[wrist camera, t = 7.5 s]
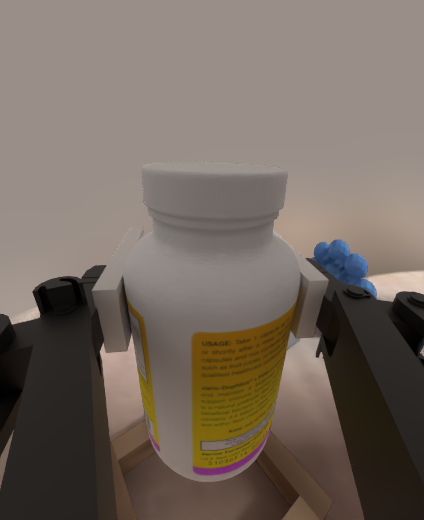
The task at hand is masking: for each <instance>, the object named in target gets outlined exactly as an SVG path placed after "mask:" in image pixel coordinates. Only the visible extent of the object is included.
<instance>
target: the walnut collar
mask: <svg viewBox="0 0 424 520" xmlns="http://www.w3.org/2000/svg"><path fill="white" fill-rule="evenodd" d="M110 448H111V458H112V468H113V478H114V488H115V498H116V508H117V518H118V520H137V517H136V514H135V511H134V508H133V505H132V502H131V499H130V496H129V493H128V490H127V487H126V483H125V480H124V477H123V475H124V474H125V473H127V472H128V471H129V470H131V469H132V468H133V467H135V466H136V465H138V464H139V463H140V462H142V461H143V460H144V459H146V458H147V457H148V456H150V455H151V454H152V453H154V452H155V449H154V447H153V445H152V442H151V440H150V437H149V433H148V429H147V424H146V420H144V421H143V422H141V423H140V424H138V425H137V426H135V427H134V428H132V429H130V430H129V431H127V432H126V433H124V434H123V435H121V436H120V437H118V438H116V439H115V440H113V441H112V442H110ZM256 461H257V462H258V464H259V465H260V466H261V468H262V469H263V470H264V472H265V473H266V474H267V476H268V477H269V478H270V479H271V481H272V482H273V483H274V485H275V486H276V487H277V489H278V490H279V491H280V493H281V494H282V495H283V497H284V498H285V499H286V500H287V502H288V503H289V504H290V506H291V508H290V510H289V511H288V512H287V513H286V515H285V516H284V517H283V519H282V520H324V519H325V517H326V515H327V513H328V511H329V510H330V508H331V506H332V504H333V501H332V499H331V498H330V497H329V496H328V495H327V494H326V493H325V492H324V490H323V489H322V488H321V487H320V486H319V485H318V484H317V483H316V481H315V480H314V479H313V478H312V477H311V476H310V475H309V474H308V473H307V471H306V470H305V469H304V468H303V467H302V466H301V465H300V464H299V462H298V461H297V460H296V459H295V458H294V457H293V456H292V455H291V453H290V452H289V451H288V450H287V449H286V448H285V447H284V446H283V444H282V443H281V442H280V441H279V440H278V439H277V438H276V437H275V435H274V434H273V433H272V432H271V431H269V435H268V437H267V440H266V443H265V445H264V447H263V449H262V451H261V453H260V454H259V456H258V457H257V458H256Z"/></svg>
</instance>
